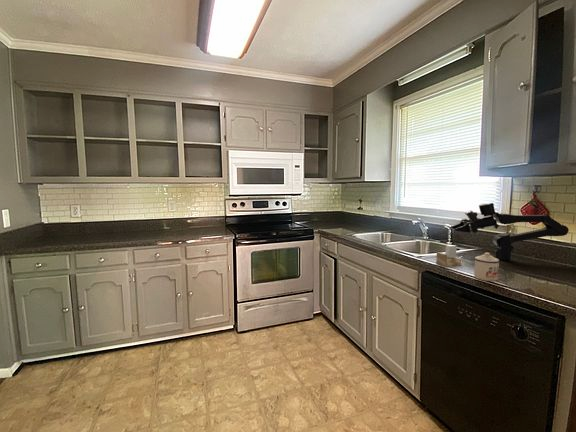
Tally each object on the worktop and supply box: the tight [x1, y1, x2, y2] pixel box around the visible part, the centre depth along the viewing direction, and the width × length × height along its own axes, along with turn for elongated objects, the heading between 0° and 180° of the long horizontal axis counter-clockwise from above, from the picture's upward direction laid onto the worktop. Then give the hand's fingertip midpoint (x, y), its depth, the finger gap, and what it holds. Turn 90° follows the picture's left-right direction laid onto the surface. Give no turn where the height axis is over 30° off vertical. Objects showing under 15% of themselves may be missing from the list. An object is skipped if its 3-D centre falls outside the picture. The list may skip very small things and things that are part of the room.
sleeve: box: [435, 251, 462, 267], centre depth 150 cm, size 10×6×6 cm, turn 103°
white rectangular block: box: [444, 244, 457, 259], centre depth 150 cm, size 4×3×10 cm
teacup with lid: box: [473, 252, 500, 282], centre depth 126 cm, size 12×9×12 cm
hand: (452, 228), depth 165 cm, fingers open, 9 cm apart
